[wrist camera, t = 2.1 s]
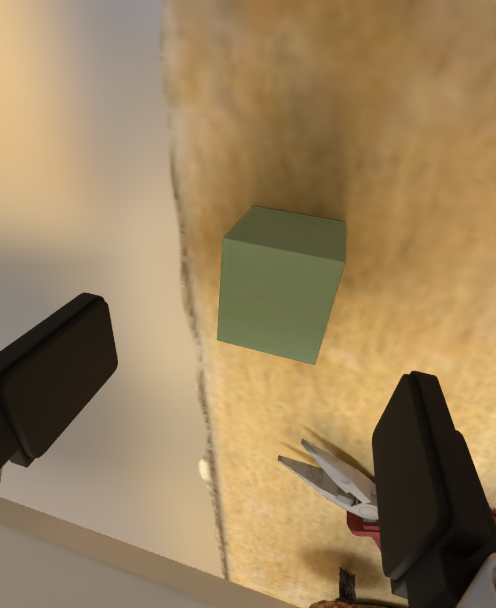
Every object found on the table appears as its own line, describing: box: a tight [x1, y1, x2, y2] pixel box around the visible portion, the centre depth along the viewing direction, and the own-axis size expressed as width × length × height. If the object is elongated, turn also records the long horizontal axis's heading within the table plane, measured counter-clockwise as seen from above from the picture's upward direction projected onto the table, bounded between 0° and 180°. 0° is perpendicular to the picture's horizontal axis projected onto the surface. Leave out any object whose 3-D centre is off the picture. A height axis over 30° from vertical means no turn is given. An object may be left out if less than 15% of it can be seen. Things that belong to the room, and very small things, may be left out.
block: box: [217, 206, 346, 365], centre depth 15 cm, size 4×5×4 cm
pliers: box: [278, 439, 496, 551], centre depth 23 cm, size 12×20×3 cm, turn 58°
